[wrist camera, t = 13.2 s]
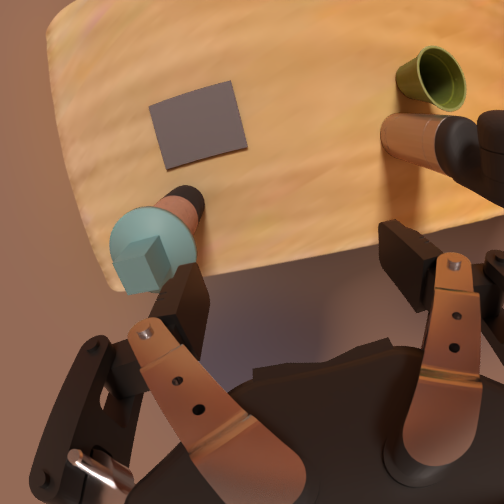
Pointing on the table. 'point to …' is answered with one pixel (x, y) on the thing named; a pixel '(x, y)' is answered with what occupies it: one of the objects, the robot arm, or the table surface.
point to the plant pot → (433, 79)
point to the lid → (150, 248)
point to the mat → (198, 124)
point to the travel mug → (184, 205)
